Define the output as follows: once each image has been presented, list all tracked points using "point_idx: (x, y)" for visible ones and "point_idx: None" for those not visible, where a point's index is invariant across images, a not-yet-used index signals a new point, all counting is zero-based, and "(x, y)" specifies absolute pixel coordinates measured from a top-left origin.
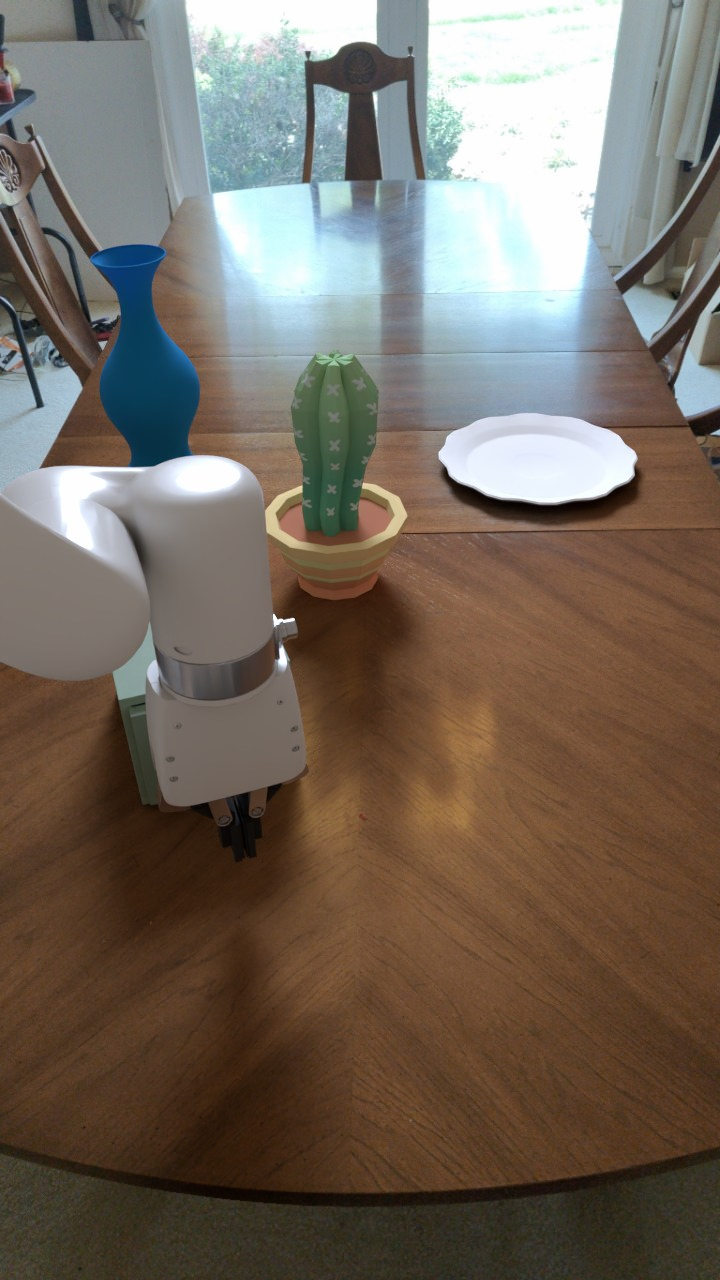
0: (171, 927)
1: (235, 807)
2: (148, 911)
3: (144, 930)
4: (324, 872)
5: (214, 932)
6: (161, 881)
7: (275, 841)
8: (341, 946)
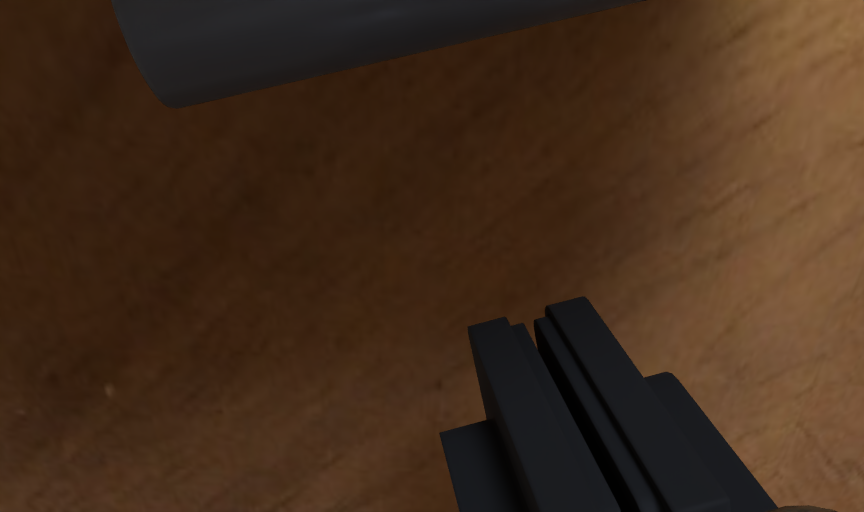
0: (193, 411)
1: (608, 465)
2: (86, 346)
3: (91, 418)
4: (766, 227)
5: (352, 434)
6: (110, 212)
7: (616, 44)
8: None
